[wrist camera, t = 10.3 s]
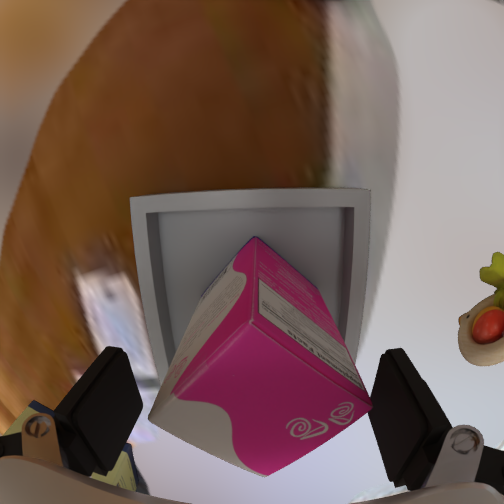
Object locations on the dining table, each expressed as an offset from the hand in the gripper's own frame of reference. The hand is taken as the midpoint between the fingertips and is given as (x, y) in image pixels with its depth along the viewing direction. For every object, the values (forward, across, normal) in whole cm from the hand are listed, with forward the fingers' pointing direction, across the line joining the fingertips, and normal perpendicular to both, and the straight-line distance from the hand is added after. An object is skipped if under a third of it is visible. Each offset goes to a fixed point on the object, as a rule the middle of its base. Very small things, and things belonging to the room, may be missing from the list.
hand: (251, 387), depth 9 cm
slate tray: (+11, +1, +1) cm, 11 cm away
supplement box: (+10, 0, +1) cm, 10 cm away
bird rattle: (+11, -19, +3) cm, 23 cm away
